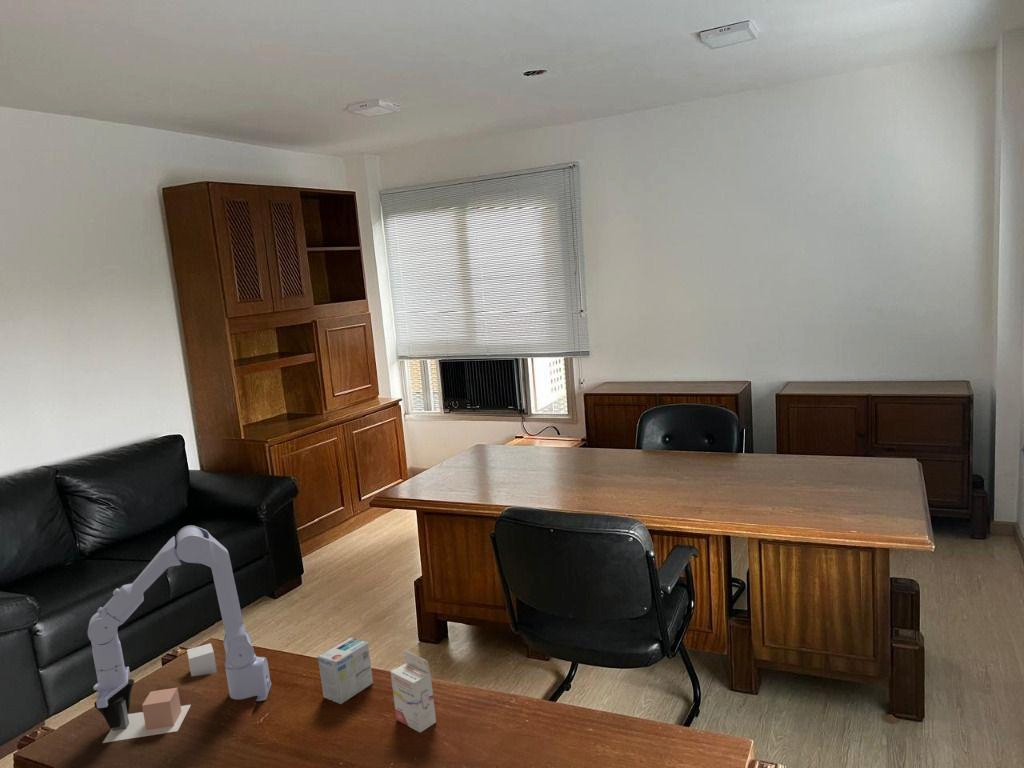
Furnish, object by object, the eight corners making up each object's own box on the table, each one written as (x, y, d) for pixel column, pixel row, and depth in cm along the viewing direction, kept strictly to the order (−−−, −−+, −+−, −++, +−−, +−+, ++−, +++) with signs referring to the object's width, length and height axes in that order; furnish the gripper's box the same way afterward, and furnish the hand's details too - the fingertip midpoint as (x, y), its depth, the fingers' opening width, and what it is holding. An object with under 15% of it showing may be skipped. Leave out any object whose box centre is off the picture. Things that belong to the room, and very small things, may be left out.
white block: (190, 671, 204) (186, 649, 203) (214, 664, 206) (210, 642, 205) (192, 680, 198) (188, 658, 197) (217, 673, 201) (213, 651, 200)
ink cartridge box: (394, 720, 171) (387, 658, 169) (412, 710, 175) (404, 649, 173) (420, 733, 166) (412, 669, 163) (437, 722, 169) (430, 659, 167)
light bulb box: (355, 676, 192) (350, 636, 191) (374, 683, 188) (369, 641, 187) (322, 698, 184) (316, 655, 182) (341, 705, 180) (335, 661, 178)
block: (181, 711, 182) (177, 687, 181) (173, 725, 176) (169, 701, 175) (154, 715, 181) (150, 691, 180) (146, 730, 175) (141, 705, 174)
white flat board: (191, 708, 184) (187, 681, 183) (178, 735, 173) (173, 706, 172) (121, 719, 182) (116, 691, 181) (103, 746, 172) (97, 717, 171)
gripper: (103, 652, 182) (113, 705, 184) (77, 683, 167) (88, 741, 169) (135, 647, 182) (144, 701, 184) (111, 678, 168) (122, 736, 170)
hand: (119, 720), depth 177 cm, fingers open, 5 cm apart
